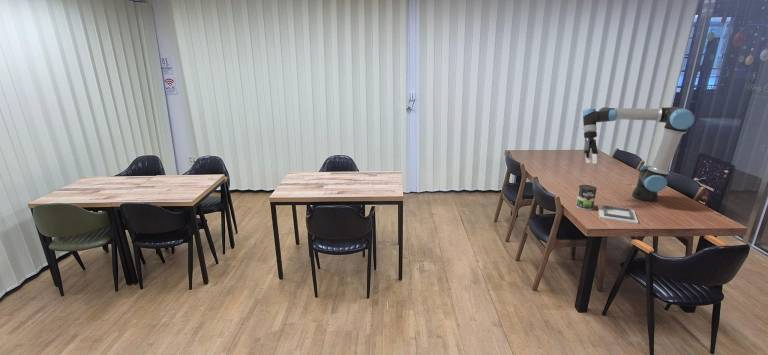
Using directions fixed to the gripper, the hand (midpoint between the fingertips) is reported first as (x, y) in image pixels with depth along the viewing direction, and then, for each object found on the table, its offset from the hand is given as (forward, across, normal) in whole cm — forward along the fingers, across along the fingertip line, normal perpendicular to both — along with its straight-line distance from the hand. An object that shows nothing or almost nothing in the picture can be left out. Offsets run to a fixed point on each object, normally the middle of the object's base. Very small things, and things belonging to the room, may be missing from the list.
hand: (591, 163), depth 243 cm
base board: (+34, +5, +14) cm, 37 cm away
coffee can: (+29, +6, -4) cm, 30 cm away
